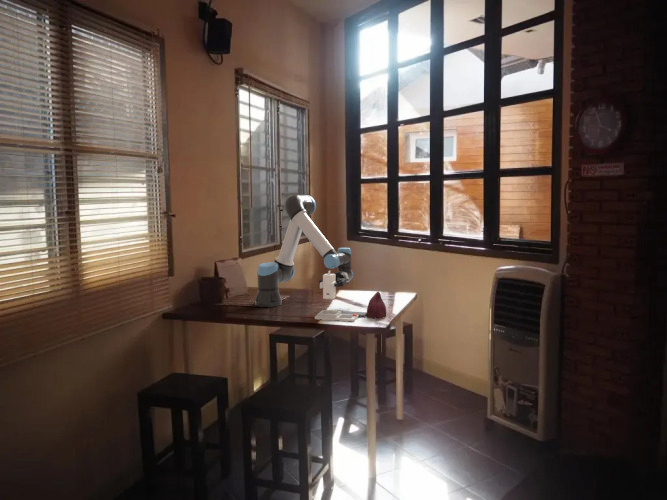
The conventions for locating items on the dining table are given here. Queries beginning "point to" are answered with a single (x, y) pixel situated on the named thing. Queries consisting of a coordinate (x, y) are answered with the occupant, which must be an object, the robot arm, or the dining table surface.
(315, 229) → the robot arm
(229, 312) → the dining table surface
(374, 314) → the vegetable
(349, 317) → the white base tray
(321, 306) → the dining table surface
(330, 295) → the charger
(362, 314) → the phone
